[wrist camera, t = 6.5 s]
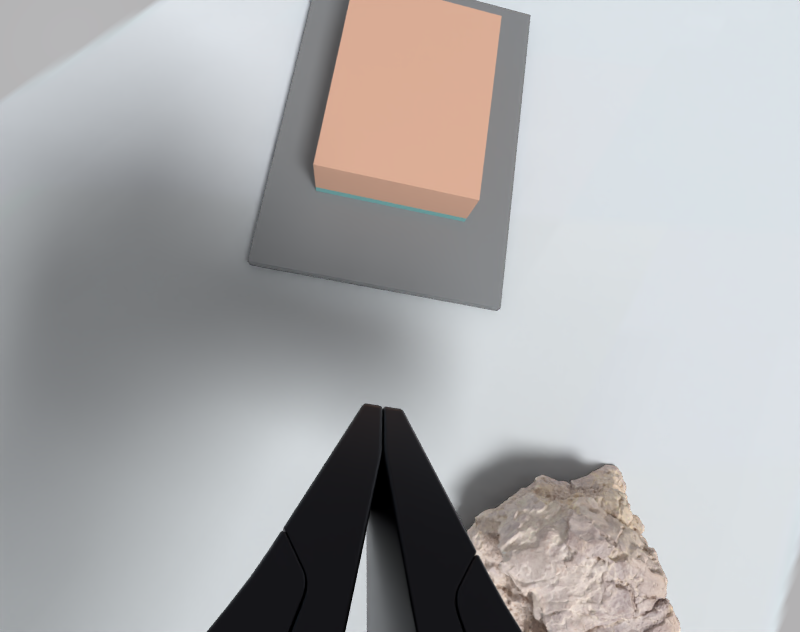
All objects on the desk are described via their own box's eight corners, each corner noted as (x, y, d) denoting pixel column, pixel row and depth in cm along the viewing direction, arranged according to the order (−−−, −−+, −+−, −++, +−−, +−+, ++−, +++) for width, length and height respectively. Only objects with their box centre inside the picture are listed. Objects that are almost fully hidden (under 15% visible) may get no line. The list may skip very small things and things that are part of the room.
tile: (479, 200, 20) (501, 15, 23) (313, 164, 20) (354, -23, 22) (464, 221, 23) (485, 53, 25) (316, 190, 22) (353, 19, 24)
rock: (610, 464, 22) (700, 484, 17) (645, 635, 21) (757, 719, 15) (413, 497, 21) (441, 531, 15) (436, 686, 19) (476, 802, 14)
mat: (496, 310, 23) (500, 308, 22) (250, 264, 21) (247, 260, 21) (526, 23, 27) (530, 15, 26) (322, -31, 25) (321, -41, 25)
